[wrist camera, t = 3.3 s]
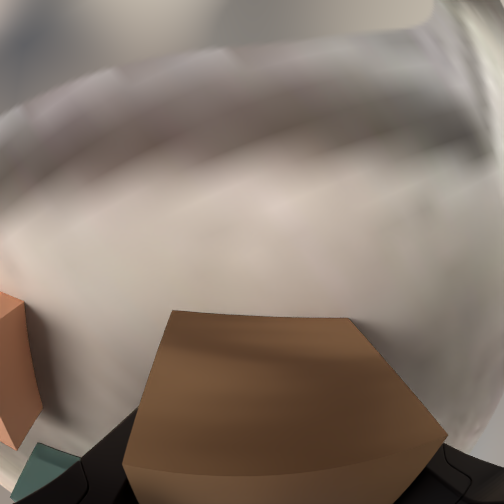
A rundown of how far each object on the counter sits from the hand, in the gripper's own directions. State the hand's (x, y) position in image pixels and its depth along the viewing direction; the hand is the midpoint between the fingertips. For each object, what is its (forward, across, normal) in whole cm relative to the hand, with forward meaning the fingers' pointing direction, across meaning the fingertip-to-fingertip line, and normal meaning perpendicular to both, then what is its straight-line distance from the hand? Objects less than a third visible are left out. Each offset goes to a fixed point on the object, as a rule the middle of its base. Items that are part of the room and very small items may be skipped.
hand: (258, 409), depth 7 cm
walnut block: (+1, 0, 0) cm, 1 cm away
